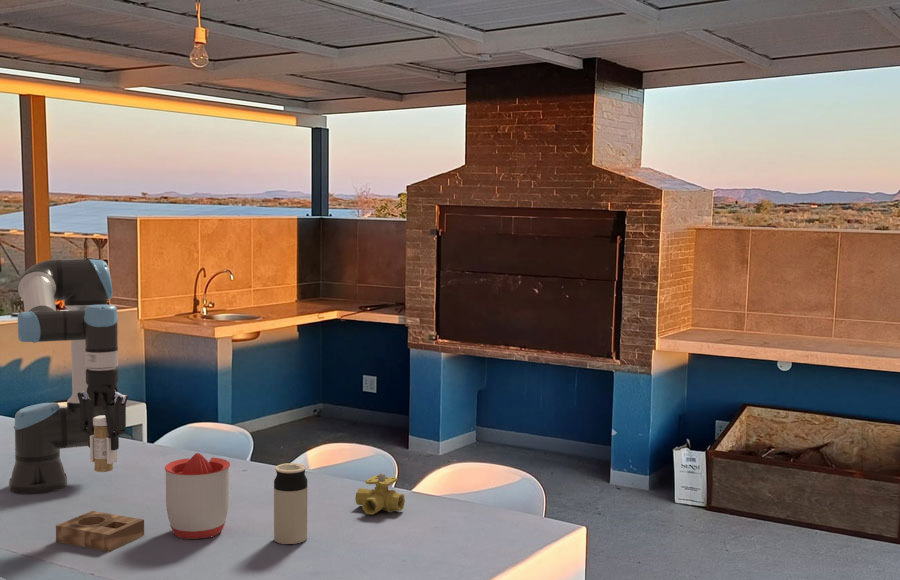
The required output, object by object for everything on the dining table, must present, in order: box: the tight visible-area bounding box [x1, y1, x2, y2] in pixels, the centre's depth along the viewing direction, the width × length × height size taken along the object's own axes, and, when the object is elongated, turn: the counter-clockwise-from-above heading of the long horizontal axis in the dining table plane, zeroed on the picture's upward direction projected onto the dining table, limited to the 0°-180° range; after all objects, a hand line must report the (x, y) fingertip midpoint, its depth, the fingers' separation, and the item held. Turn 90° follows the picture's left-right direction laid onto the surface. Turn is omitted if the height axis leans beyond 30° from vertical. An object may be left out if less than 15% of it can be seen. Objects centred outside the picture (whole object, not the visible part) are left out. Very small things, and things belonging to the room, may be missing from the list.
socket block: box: [55, 510, 145, 553], centre depth 225 cm, size 16×12×4 cm
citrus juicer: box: [164, 452, 231, 540], centre depth 230 cm, size 16×17×20 cm
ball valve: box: [354, 472, 406, 515], centre depth 248 cm, size 13×10×10 cm
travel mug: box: [273, 462, 308, 545], centre depth 225 cm, size 8×8×18 cm
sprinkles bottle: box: [93, 415, 115, 473], centre depth 230 cm, size 5×5×14 cm
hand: (103, 461), depth 230 cm, fingers closed on sprinkles bottle, 4 cm apart
